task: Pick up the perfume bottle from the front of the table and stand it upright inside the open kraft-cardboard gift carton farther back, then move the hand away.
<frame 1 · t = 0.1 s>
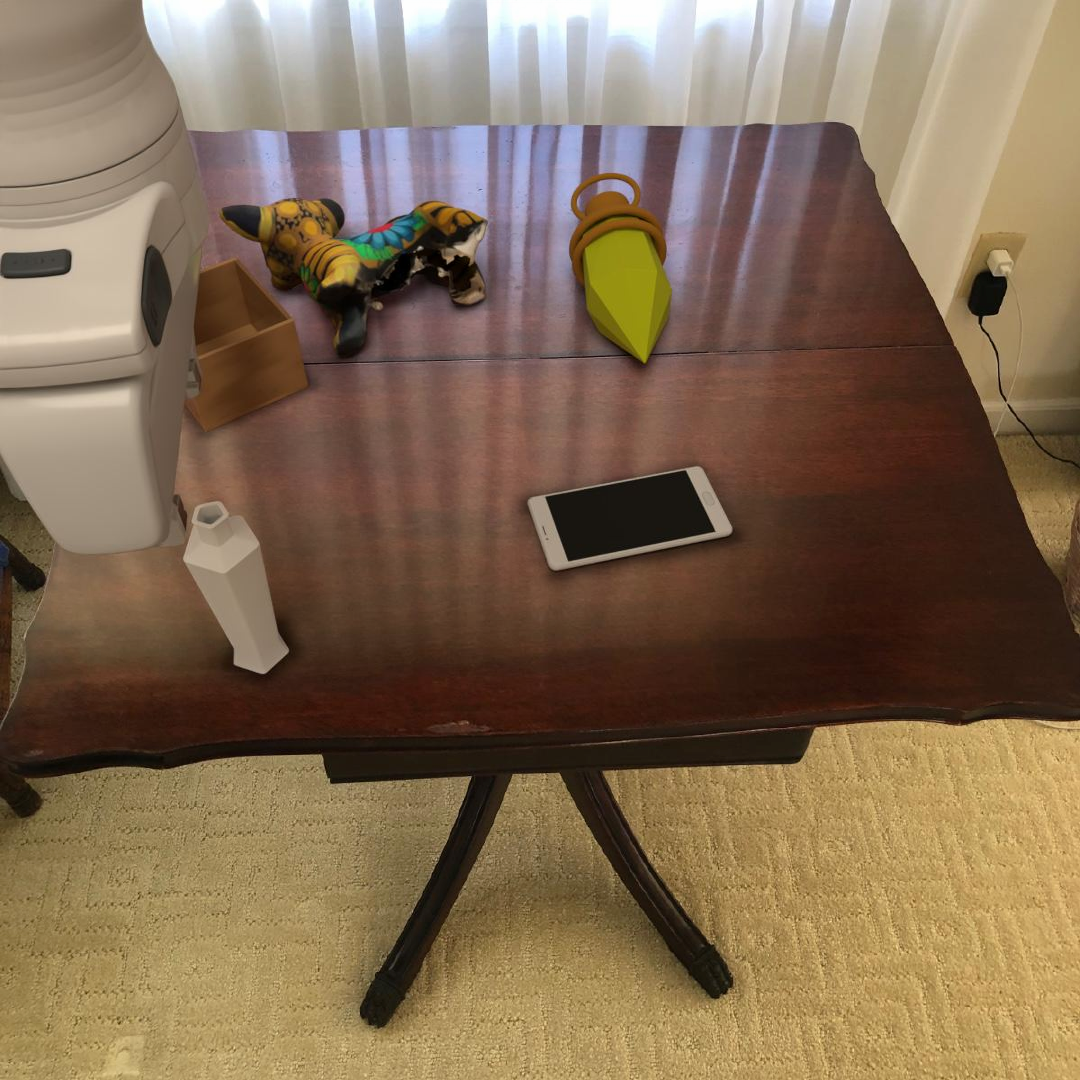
hand: (177, 457, 47), 26 cm above the table, tool pointing down, fingers open, 8 cm apart
carton: (231, 375, 89), on the table
plumb bob: (616, 303, 96), on the table
carton flap: (137, 304, 78), point 10 cm above the table, hinge at 105.0°
multicolored animal figure: (368, 295, 96), on the table
smartphone: (628, 520, 79), on the table
perfume bottle: (263, 652, 71), on the table
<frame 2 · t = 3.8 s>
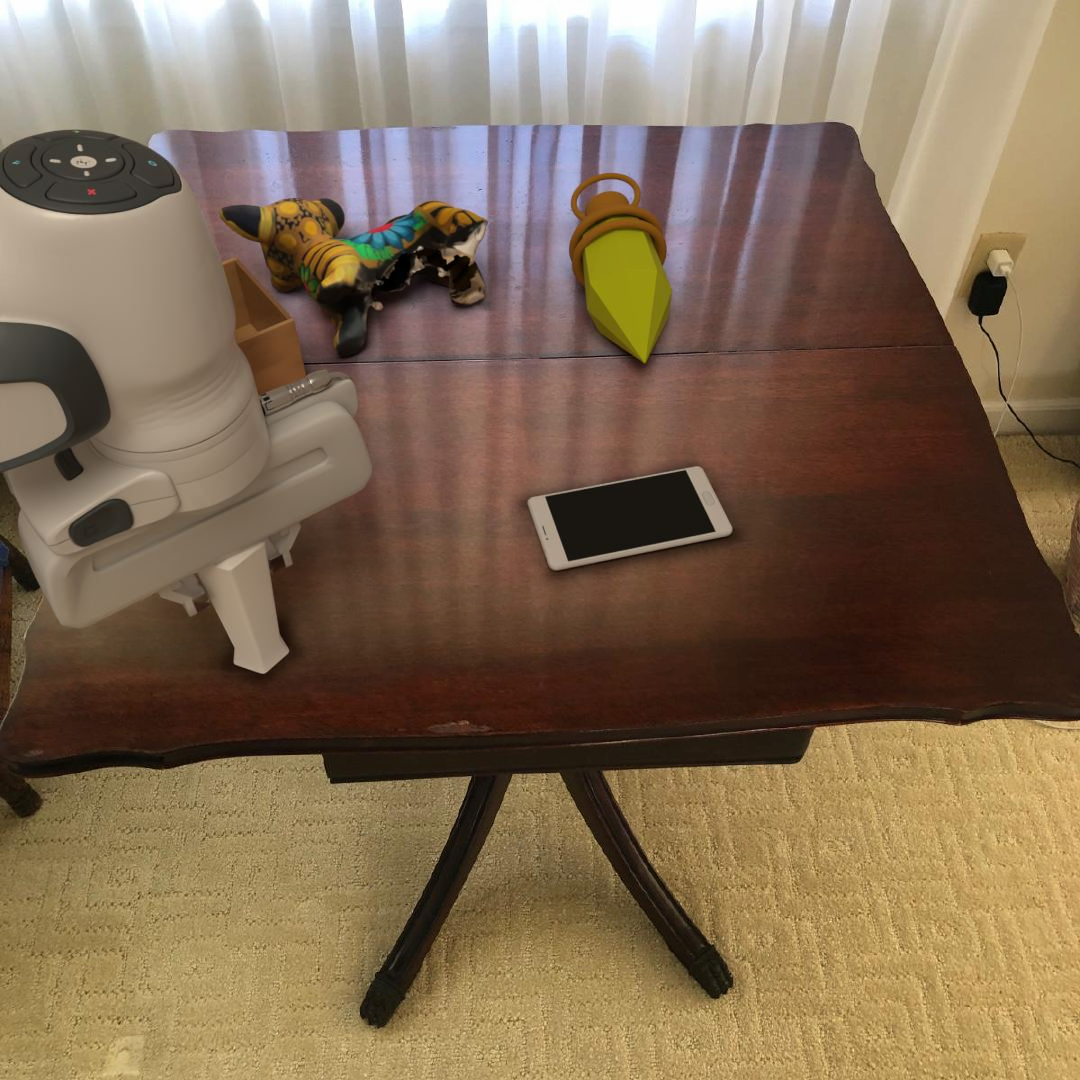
hand: (237, 584, 64), 8 cm above the table, tool pointing down, fingers closed on perfume bottle, 4 cm apart
perfume bottle: (263, 651, 71), on the table, touching gripper
everything else where it was.
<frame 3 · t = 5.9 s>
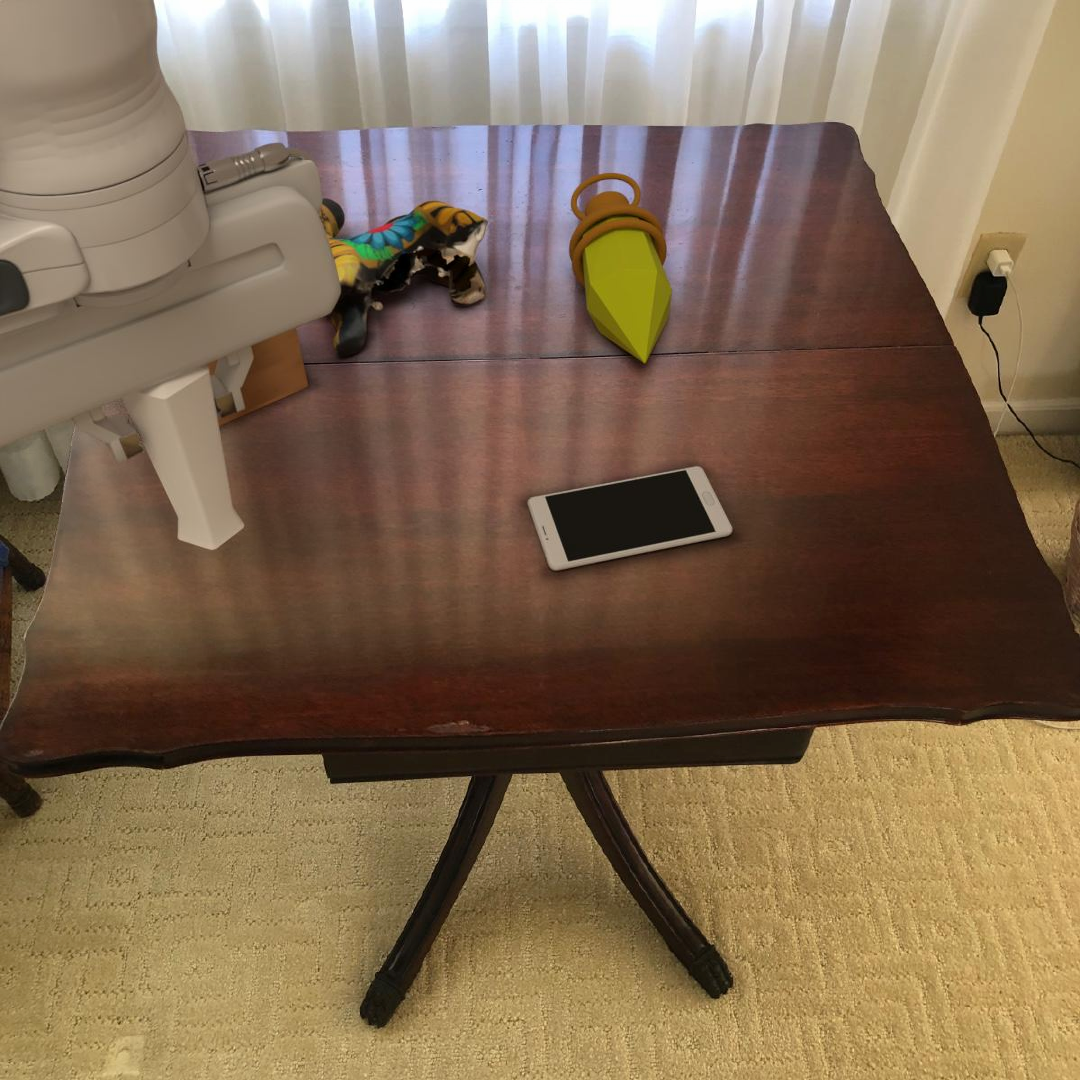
hand: (177, 429, 53), 22 cm above the table, tool pointing down, fingers closed on perfume bottle, 4 cm apart
perfume bottle: (214, 527, 60), point 14 cm above the table, touching gripper
everything else where it was.
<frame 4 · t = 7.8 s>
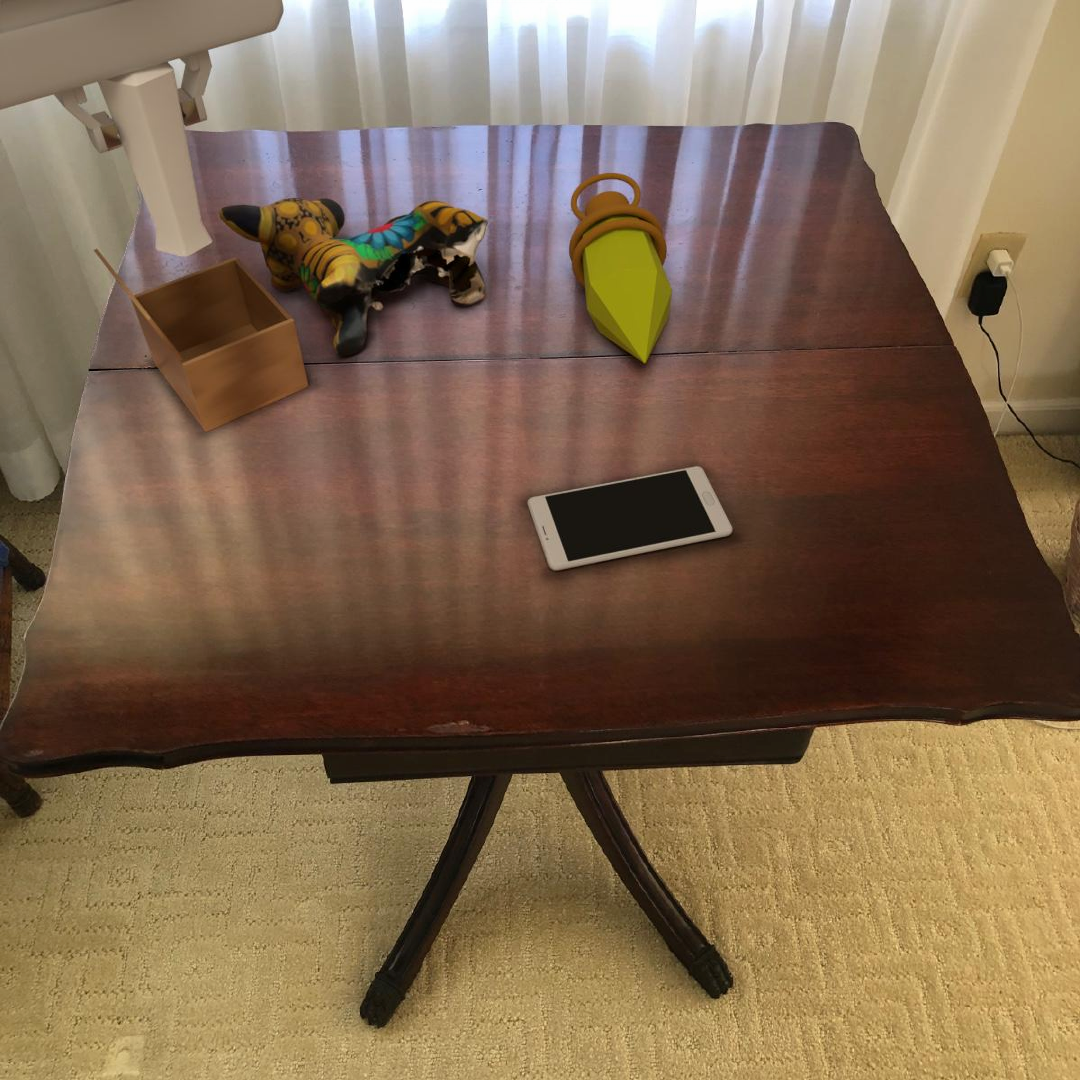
hand: (150, 133, 64), 26 cm above the table, tool pointing down, fingers closed on perfume bottle, 4 cm apart
perfume bottle: (187, 243, 70), point 18 cm above the table, touching gripper
everything else where it was.
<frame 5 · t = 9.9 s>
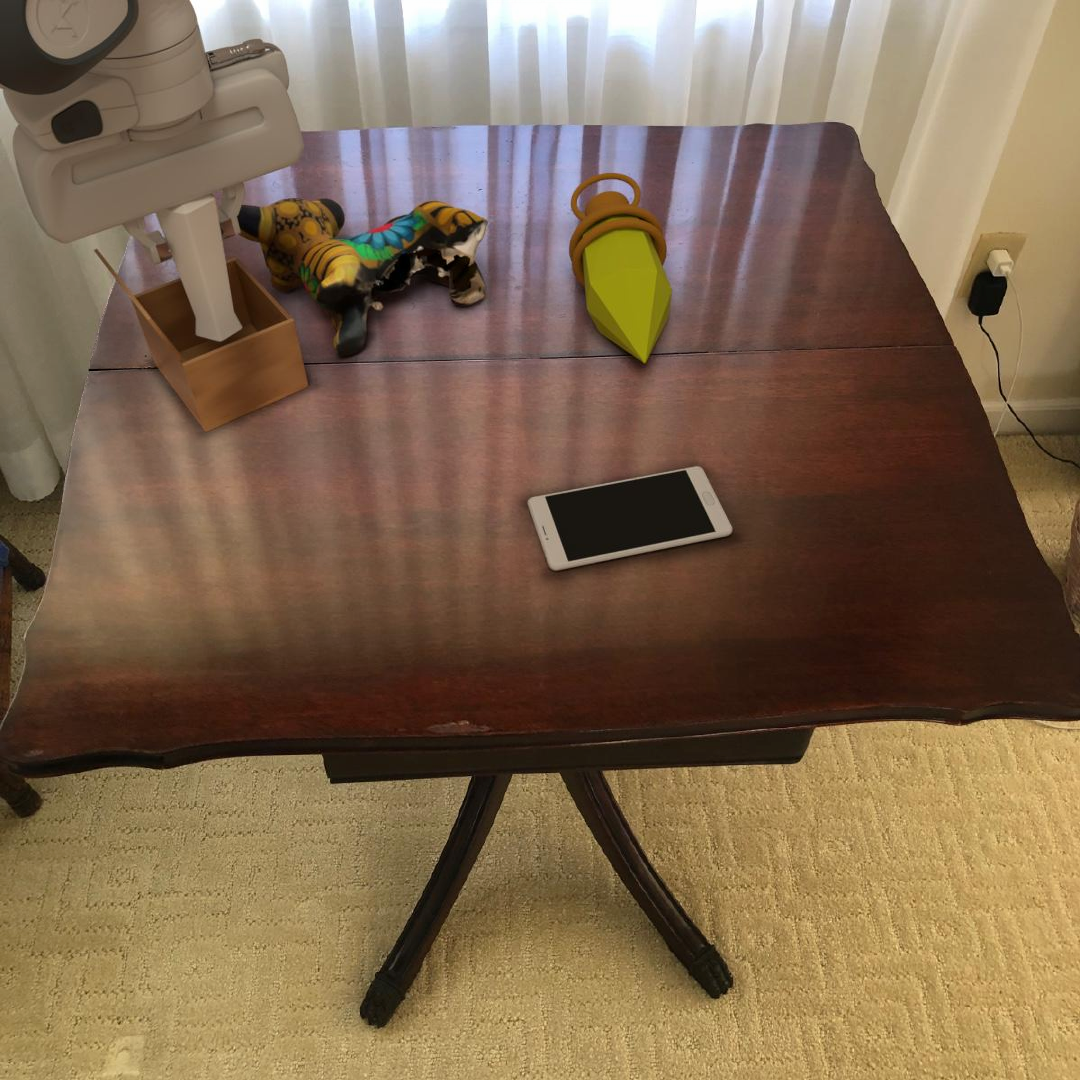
hand: (194, 246, 78), 14 cm above the table, tool pointing down, fingers closed on perfume bottle, 4 cm apart
perfume bottle: (221, 328, 85), point 5 cm above the table, touching gripper
everything else where it was.
when the fingers open (8 cm above the table, at t = 11.7 s): perfume bottle stays where it is, resting on carton.
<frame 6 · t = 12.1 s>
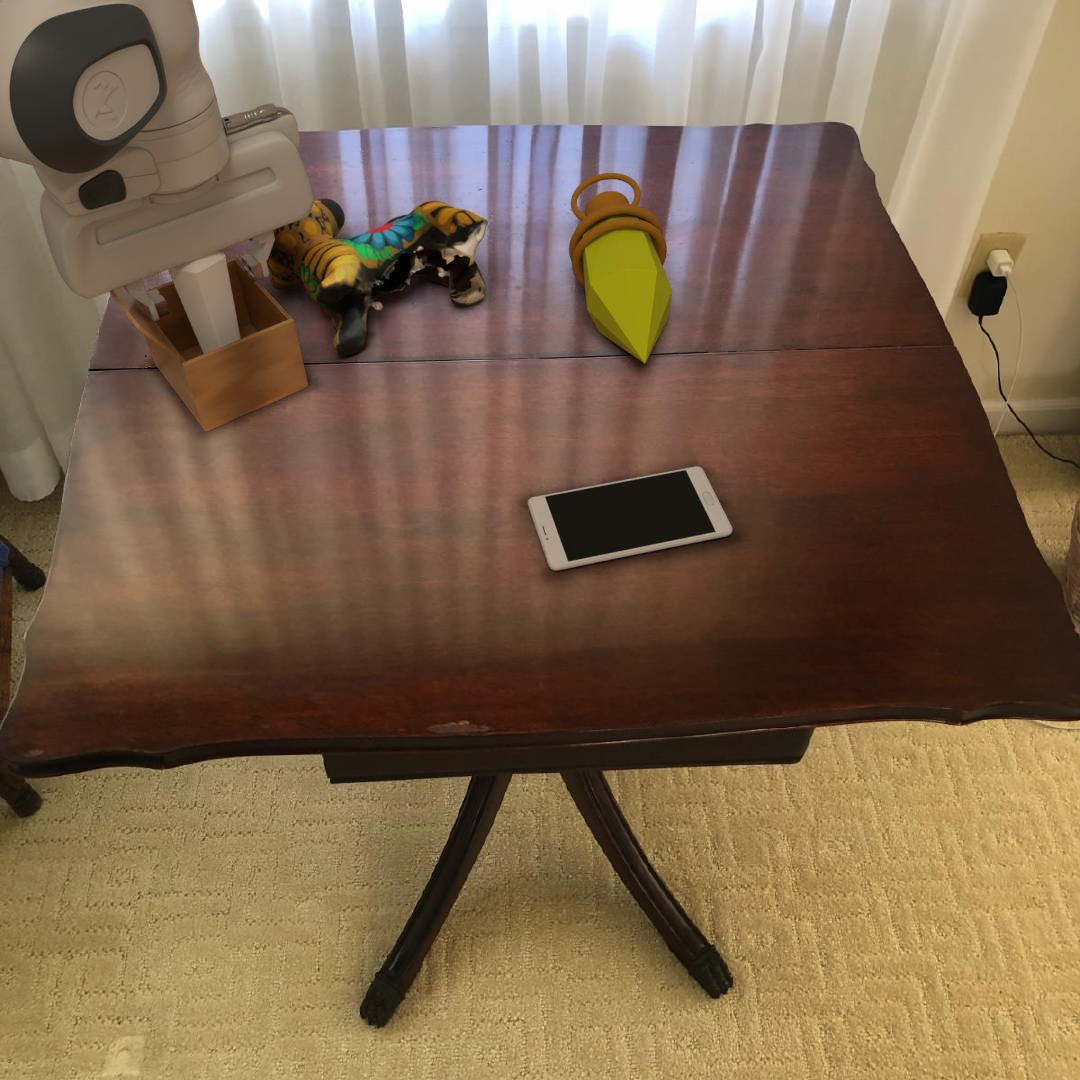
hand: (209, 295, 82), 9 cm above the table, tool pointing down, fingers open, 7 cm apart
carton flap: (132, 308, 78), point 10 cm above the table, hinge at 117.1°, touching gripper
perfume bottle: (232, 373, 88), resting on carton
everything else where it was.
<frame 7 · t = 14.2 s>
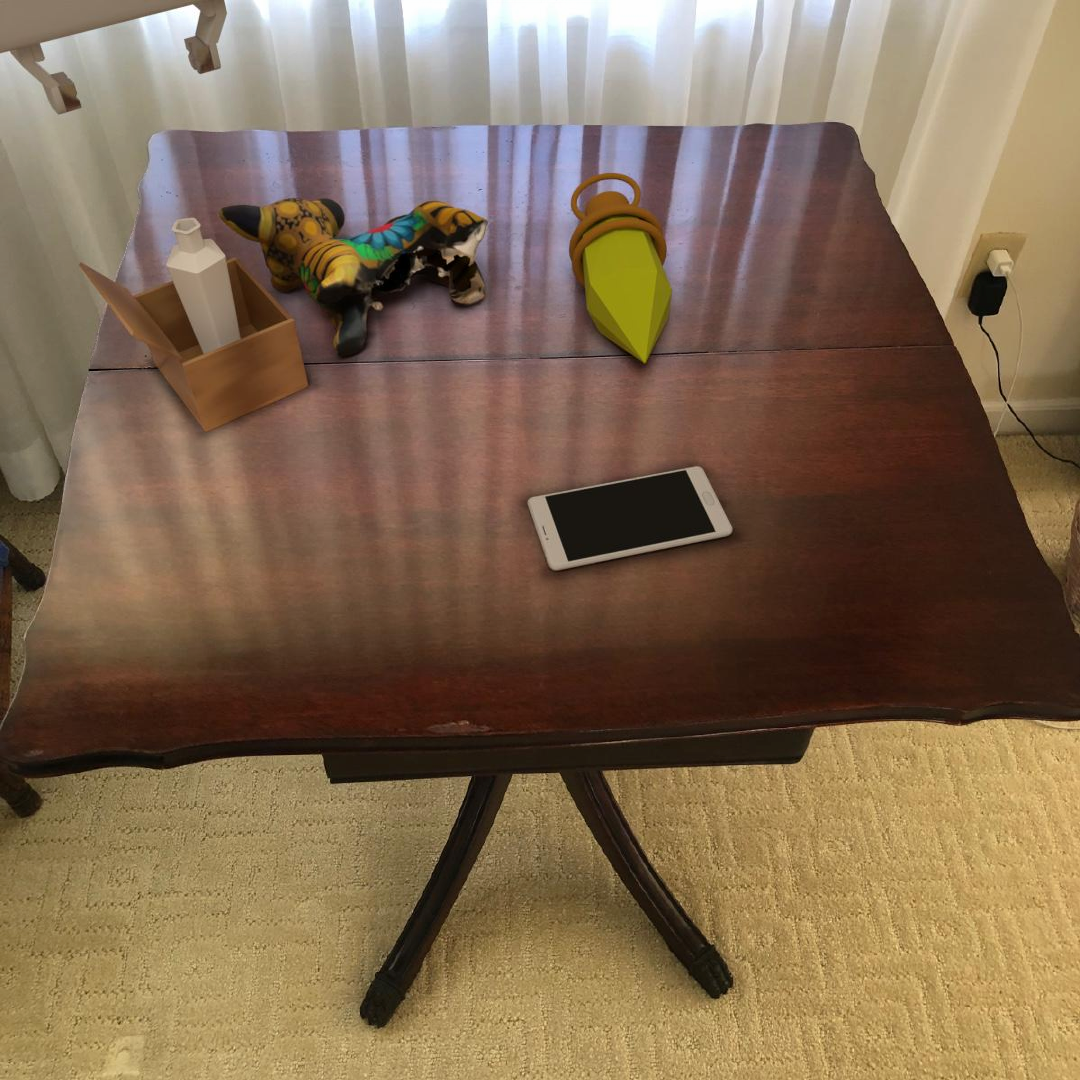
hand: (138, 87, 64), 28 cm above the table, tool pointing down, fingers open, 8 cm apart
carton flap: (129, 311, 78), point 10 cm above the table, hinge at 124.9°
everything else where it was.
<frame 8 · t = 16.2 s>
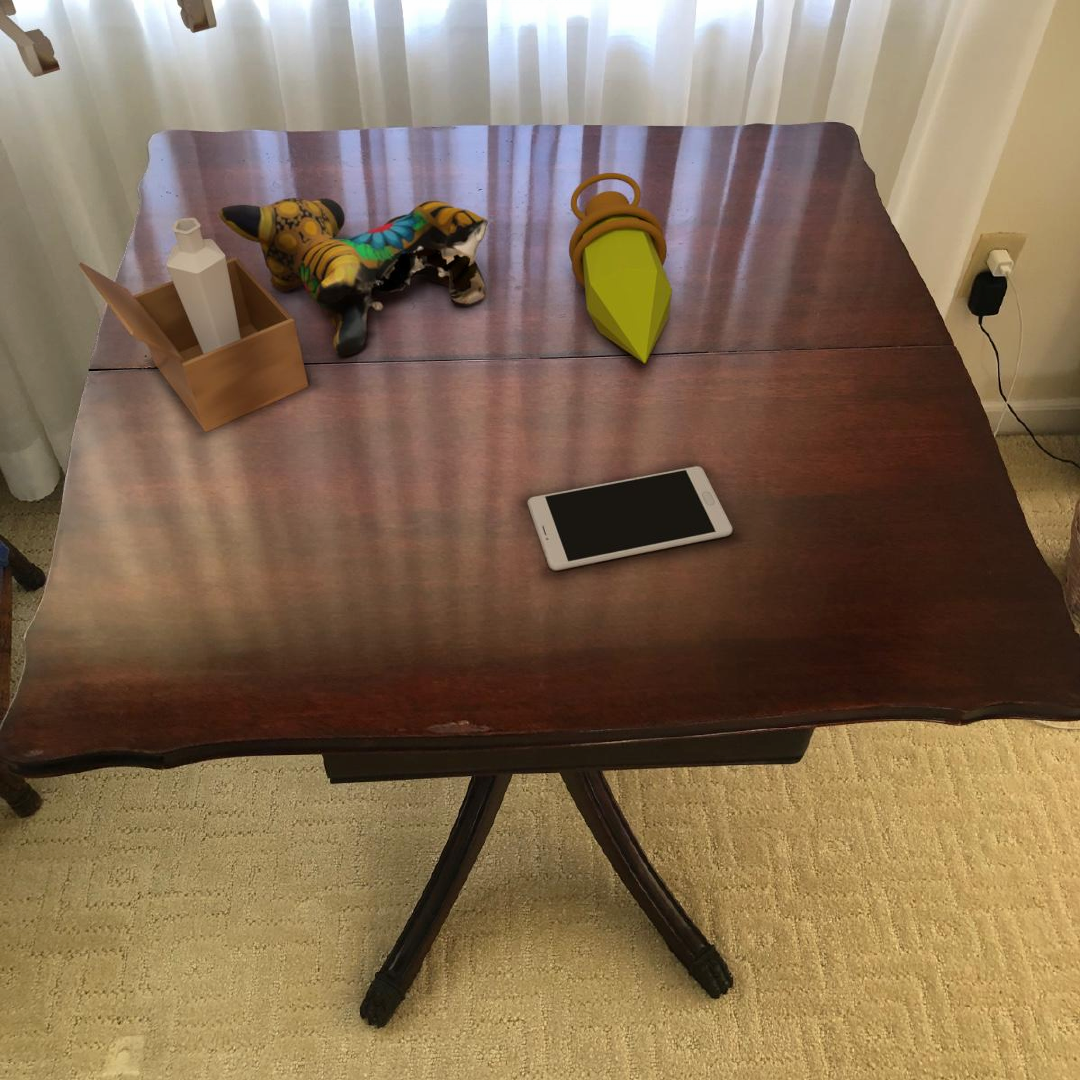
hand: (124, 48, 57), 33 cm above the table, tool pointing down, fingers open, 8 cm apart
nothing on the table moved.
at the end: perfume bottle inside the target area in the carton (0.2 cm from its centre), point 0.2 cm above the carton's base; perfume bottle tilted 0°; the gripper is holding nothing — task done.
